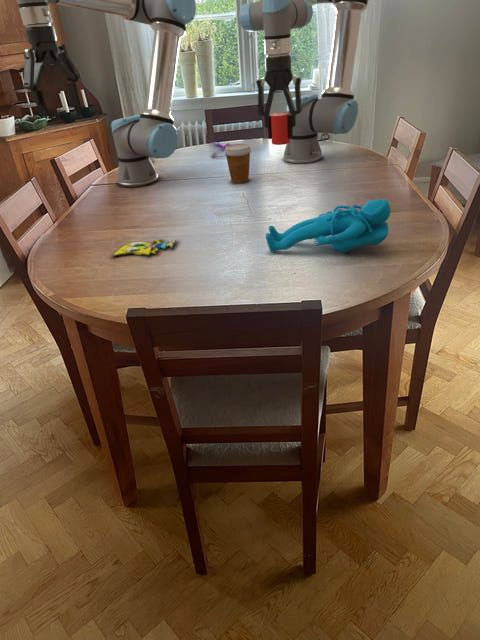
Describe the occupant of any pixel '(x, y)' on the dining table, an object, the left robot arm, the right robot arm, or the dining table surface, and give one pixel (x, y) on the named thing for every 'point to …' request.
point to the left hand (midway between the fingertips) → (61, 111)
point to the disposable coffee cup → (238, 162)
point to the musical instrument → (220, 148)
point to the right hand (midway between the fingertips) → (280, 137)
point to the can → (280, 128)
